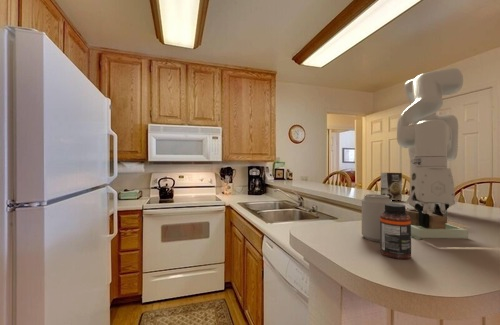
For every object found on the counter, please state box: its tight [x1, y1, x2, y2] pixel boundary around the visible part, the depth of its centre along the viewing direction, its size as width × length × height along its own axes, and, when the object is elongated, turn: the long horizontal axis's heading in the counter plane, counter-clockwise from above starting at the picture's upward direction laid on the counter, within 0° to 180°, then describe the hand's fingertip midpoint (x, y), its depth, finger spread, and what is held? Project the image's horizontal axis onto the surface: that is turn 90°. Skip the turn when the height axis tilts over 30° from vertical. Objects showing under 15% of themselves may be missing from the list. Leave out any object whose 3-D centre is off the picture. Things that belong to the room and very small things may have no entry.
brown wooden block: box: [405, 208, 446, 229], centre depth 72 cm, size 12×7×4 cm, turn 179°
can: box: [361, 193, 393, 243], centre depth 66 cm, size 8×8×12 cm
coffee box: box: [380, 172, 403, 201], centre depth 138 cm, size 9×6×16 cm
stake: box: [443, 209, 473, 229], centre depth 81 cm, size 11×9×10 cm
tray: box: [411, 223, 469, 241], centre depth 73 cm, size 17×13×3 cm
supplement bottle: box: [379, 202, 412, 260], centre depth 54 cm, size 6×6×11 cm
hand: (430, 226), depth 69 cm, fingers closed on brown wooden block, 3 cm apart
